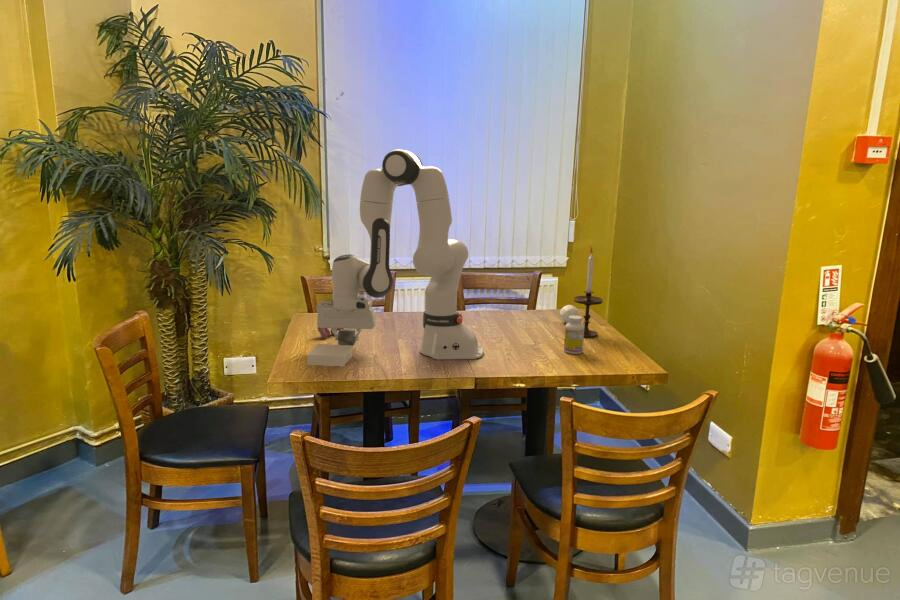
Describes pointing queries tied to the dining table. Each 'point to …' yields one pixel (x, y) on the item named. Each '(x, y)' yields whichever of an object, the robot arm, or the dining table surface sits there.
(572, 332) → the supplement bottle
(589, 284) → the candlestick
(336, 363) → the cream block
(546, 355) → the dining table surface
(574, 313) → the geometric ball
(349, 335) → the slate cube
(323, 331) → the video game controller
